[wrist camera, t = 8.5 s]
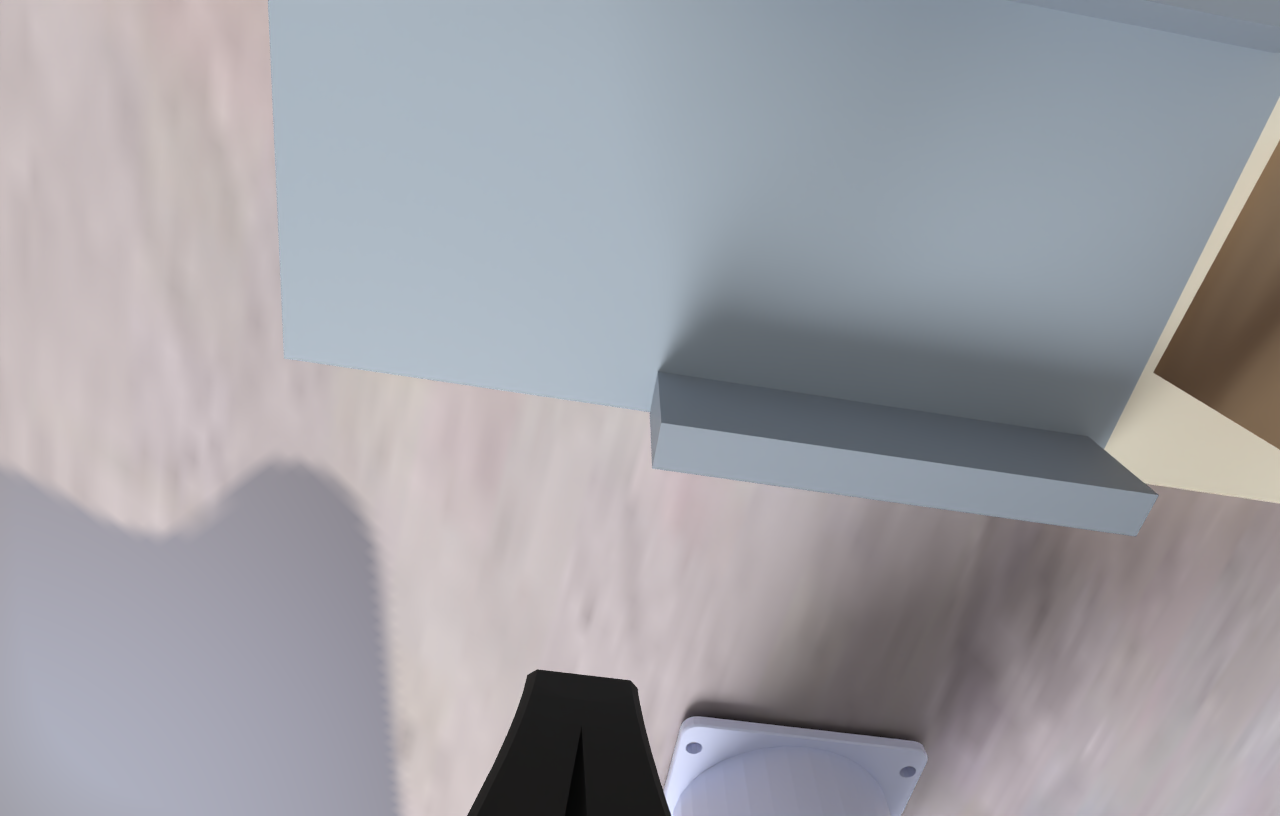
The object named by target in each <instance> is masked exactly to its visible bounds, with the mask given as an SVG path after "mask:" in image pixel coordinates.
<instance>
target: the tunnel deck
mask: <svg viewBox="0 0 1280 816" xmlns="http://www.w3.org/2000/svg"><path fill="white" fill-rule="evenodd" d="M268 12H269V34H270V56H271V78H272V100H273V122H274V144H275V166H276V188H277V211H278V233H279V255H280V277H281V299H282V321H283V343H284V358H285V359H292V360H299V361H305V362H312V363H319V364H326V365H333V366H339V367H346V368H353V369H360V370H367V371H374V372H380V373H387V374H394V375H401V376H408V377H414V378H421V379H428V380H435V381H442V382H449V383H455V384H462V385H469V386H476V387H483V388H489V389H496V390H503V391H510V392H517V393H524V394H530V395H537V396H544V397H551V398H558V399H564V400H571V401H578V402H585V403H592V404H599V405H605V406H612V407H619V408H626V409H633V410H639V411H646V412H650V427H651V450H652V468H653V469H660V470H667V471H674V472H681V473H688V474H696V475H703V476H710V477H717V478H724V479H731V480H738V481H745V482H752V483H759V484H767V485H774V486H781V487H788V488H795V489H802V490H809V491H816V492H823V493H831V494H838V495H845V496H852V497H859V498H866V499H873V500H880V501H887V502H894V503H902V504H909V505H916V506H923V507H930V508H937V509H944V510H951V511H958V512H966V513H973V514H980V515H987V516H994V517H1001V518H1008V519H1015V520H1022V521H1029V522H1037V523H1044V524H1051V525H1058V526H1065V527H1072V528H1079V529H1086V530H1093V531H1101V532H1108V533H1115V534H1122V535H1129V536H1137V534H1138V532H1139V530H1140V528H1141V527H1142V525H1143V523H1144V521H1145V519H1146V517H1147V516H1148V514H1149V512H1150V510H1151V508H1152V507H1153V505H1154V503H1155V501H1156V499H1157V498H1158V496H1159V495H1158V494H1157V493H1155V492H1154V491H1153V490H1152V489H1151V488H1150V487H1148V486H1147V485H1146V484H1150V485H1157V486H1164V487H1171V488H1178V489H1184V490H1191V491H1198V492H1205V493H1212V494H1218V495H1225V496H1232V497H1239V498H1246V499H1253V500H1259V501H1266V502H1273V503H1280V450H1279V449H1278V448H1276V447H1275V446H1273V445H1271V444H1270V443H1268V442H1266V441H1265V440H1263V439H1261V438H1260V437H1258V436H1256V435H1255V434H1253V433H1252V432H1250V431H1248V430H1247V429H1245V428H1243V427H1242V426H1240V425H1238V424H1237V423H1235V422H1233V421H1232V420H1230V419H1229V418H1227V417H1225V416H1224V415H1222V414H1220V413H1219V412H1217V411H1215V410H1214V409H1212V408H1210V407H1209V406H1207V405H1206V404H1204V403H1202V402H1201V401H1199V400H1197V399H1196V398H1194V397H1192V396H1191V395H1189V394H1187V393H1186V392H1184V391H1183V390H1181V389H1179V388H1178V387H1176V386H1174V385H1173V384H1171V383H1169V382H1168V381H1166V380H1164V379H1163V378H1161V377H1160V376H1158V375H1156V374H1155V373H1153V372H1154V370H1155V368H1156V366H1157V365H1158V363H1159V361H1160V359H1161V357H1162V355H1163V354H1164V352H1165V350H1166V348H1167V346H1168V344H1169V342H1170V341H1171V339H1172V337H1173V335H1174V333H1175V331H1176V330H1177V328H1178V326H1179V324H1180V322H1181V320H1182V319H1183V317H1184V315H1185V313H1186V311H1187V309H1188V308H1189V306H1190V304H1191V302H1192V300H1193V298H1194V297H1195V295H1196V293H1197V291H1198V289H1199V287H1200V286H1201V284H1202V282H1203V280H1204V278H1205V276H1206V275H1207V273H1208V271H1209V269H1210V267H1211V265H1212V263H1213V262H1214V260H1215V258H1216V256H1217V254H1218V252H1219V251H1220V249H1221V247H1222V245H1223V243H1224V241H1225V240H1226V238H1227V236H1228V234H1229V232H1230V230H1231V229H1232V227H1233V225H1234V223H1235V221H1236V219H1237V218H1238V216H1239V214H1240V212H1241V210H1242V208H1243V207H1244V205H1245V203H1246V201H1247V199H1248V197H1249V196H1250V194H1251V192H1252V190H1253V188H1254V186H1255V184H1256V183H1257V181H1258V179H1259V177H1260V175H1261V173H1262V172H1263V170H1264V168H1265V166H1266V164H1267V162H1268V161H1269V159H1270V157H1271V155H1272V153H1273V151H1274V150H1275V148H1276V146H1277V144H1278V142H1279V140H1280V0H268Z"/></svg>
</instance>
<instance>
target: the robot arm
mask: <svg viewBox="0 0 1280 816" xmlns="http://www.w3.org/2000/svg"><path fill="white" fill-rule="evenodd" d="M691 742H697V743H691ZM927 760H928V756H927V754H926V751H925V749H924V746H923V745H922V744H921V743H919V742H915V741H910V740H901V739H892V738H884V737H875V736H866V735H858V734H849V733H840V732H831V731H823V730H814V729H805V728H797V727H788V726H779V725H771V724H762V723H753V722H745V721H736V720H727V719H718V718H710V717H701V716H693V717H690V718H687V719H686V720H685V721H683V723H682V725H681V727H680V731H679V735H678V738H677V742H676V746H675V750H674V753H673V757H672V761H671V765H670V769H669V772H668V776H667V780H666V784H665V787H664V791H663V789H662V786H661V783H660V779H659V776H658V773H657V769H656V766H655V762H654V759H653V755H652V752H651V748H650V745H649V741H648V737H647V733H646V729H645V725H644V721H643V716H642V711H641V706H640V701H639V696H638V689H637V687H636V686H635V685H634V684H633V683H632V682H631V681H630V680H622V679H613V678H605V677H596V676H588V675H579V674H571V673H562V672H554V671H545V670H536V671H534V672H532V673H530V674H529V675H527V679H526V683H525V687H524V691H523V694H522V697H521V700H520V703H519V706H518V709H517V711H516V714H515V717H514V719H513V722H512V724H511V727H510V729H509V731H508V734H507V736H506V738H505V740H504V743H503V745H502V747H501V749H500V751H499V754H498V756H497V758H496V760H495V762H494V765H493V767H492V769H491V771H490V772H489V774H488V776H487V778H486V780H485V782H484V784H483V786H482V788H481V790H480V792H479V794H478V796H477V798H476V800H475V802H474V804H473V805H472V807H471V809H470V811H469V813H468V815H467V816H901V815H902V813H903V811H904V809H905V807H906V805H907V803H908V801H909V798H910V796H911V794H912V792H913V790H914V788H915V786H916V784H917V782H918V780H919V778H920V776H921V773H922V771H923V769H924V767H925V765H926V763H927Z"/></svg>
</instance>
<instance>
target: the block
mask: <svg viewBox="0 0 1280 816" xmlns="http://www.w3.org/2000/svg"><path fill="white" fill-rule="evenodd" d="M1153 373H1155V374H1156V375H1158V376H1160V377H1161V378H1163V379H1164V380H1166V381H1168V382H1169V383H1171V384H1173V385H1174V386H1176V387H1178V388H1179V389H1181V390H1183V391H1184V392H1186V393H1187V394H1189V395H1191V396H1192V397H1194V398H1196V399H1197V400H1199V401H1201V402H1202V403H1204V404H1206V405H1207V406H1209V407H1210V408H1212V409H1214V410H1215V411H1217V412H1219V413H1220V414H1222V415H1224V416H1225V417H1227V418H1229V419H1230V420H1232V421H1233V422H1235V423H1237V424H1238V425H1240V426H1242V427H1243V428H1245V429H1247V430H1248V431H1250V432H1252V433H1253V434H1255V435H1256V436H1258V437H1260V438H1261V439H1263V440H1265V441H1266V442H1268V443H1270V444H1271V445H1273V446H1275V447H1276V448H1278V449H1279V450H1280V140H1279V142H1278V144H1277V146H1276V148H1275V150H1274V151H1273V153H1272V155H1271V157H1270V159H1269V161H1268V162H1267V164H1266V166H1265V168H1264V170H1263V172H1262V173H1261V175H1260V177H1259V179H1258V181H1257V183H1256V184H1255V186H1254V188H1253V190H1252V192H1251V194H1250V196H1249V197H1248V199H1247V201H1246V203H1245V205H1244V207H1243V208H1242V210H1241V212H1240V214H1239V216H1238V218H1237V219H1236V221H1235V223H1234V225H1233V227H1232V229H1231V230H1230V232H1229V234H1228V236H1227V238H1226V240H1225V241H1224V243H1223V245H1222V247H1221V249H1220V251H1219V252H1218V254H1217V256H1216V258H1215V260H1214V262H1213V263H1212V265H1211V267H1210V269H1209V271H1208V273H1207V275H1206V276H1205V278H1204V280H1203V282H1202V284H1201V286H1200V287H1199V289H1198V291H1197V293H1196V295H1195V297H1194V298H1193V300H1192V302H1191V304H1190V306H1189V308H1188V309H1187V311H1186V313H1185V315H1184V317H1183V319H1182V320H1181V322H1180V324H1179V326H1178V328H1177V330H1176V331H1175V333H1174V335H1173V337H1172V339H1171V341H1170V342H1169V344H1168V346H1167V348H1166V350H1165V352H1164V354H1163V355H1162V357H1161V359H1160V361H1159V363H1158V365H1157V366H1156V368H1155V370H1154V372H1153Z"/></svg>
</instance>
